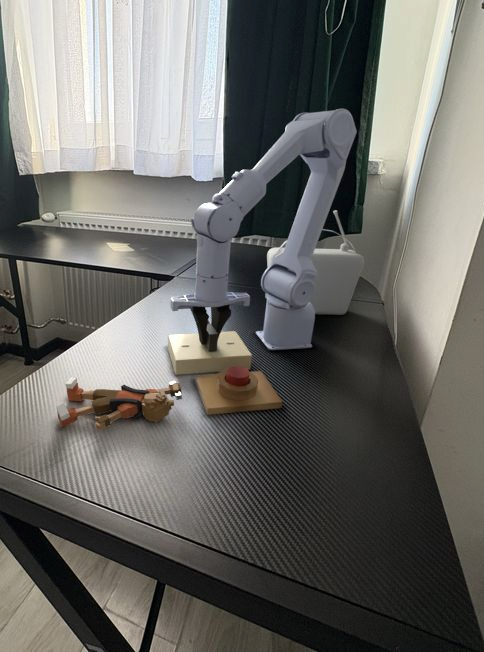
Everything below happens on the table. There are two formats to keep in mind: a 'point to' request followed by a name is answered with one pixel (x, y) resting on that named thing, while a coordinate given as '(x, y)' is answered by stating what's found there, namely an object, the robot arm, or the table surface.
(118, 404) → the character figurine
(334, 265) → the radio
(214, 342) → the dark grey block
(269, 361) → the table surface
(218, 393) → the button block
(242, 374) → the button
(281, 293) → the robot arm
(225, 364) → the panel
